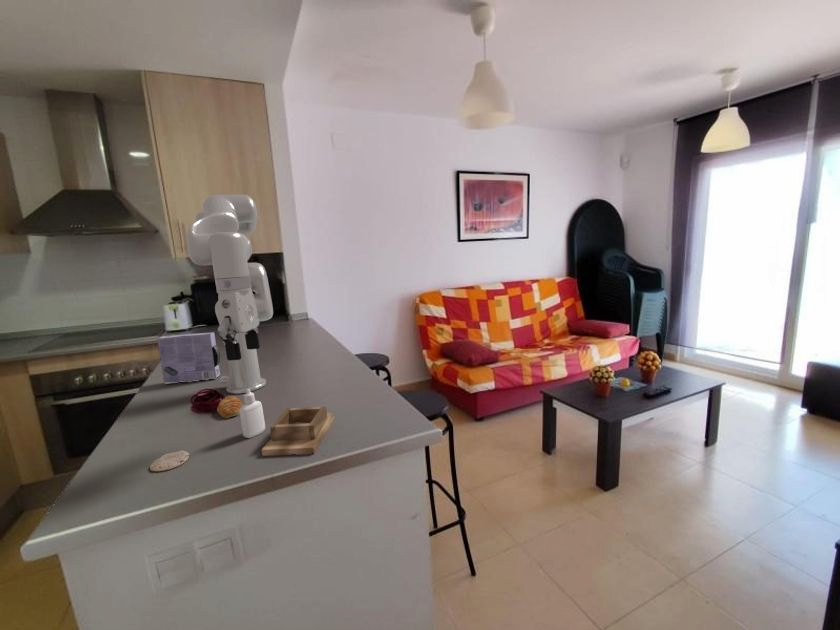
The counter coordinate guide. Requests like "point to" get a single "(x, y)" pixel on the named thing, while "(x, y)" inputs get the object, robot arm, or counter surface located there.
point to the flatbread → (169, 461)
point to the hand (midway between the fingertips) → (244, 354)
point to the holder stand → (298, 431)
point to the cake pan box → (189, 357)
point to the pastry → (229, 407)
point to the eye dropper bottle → (251, 416)
